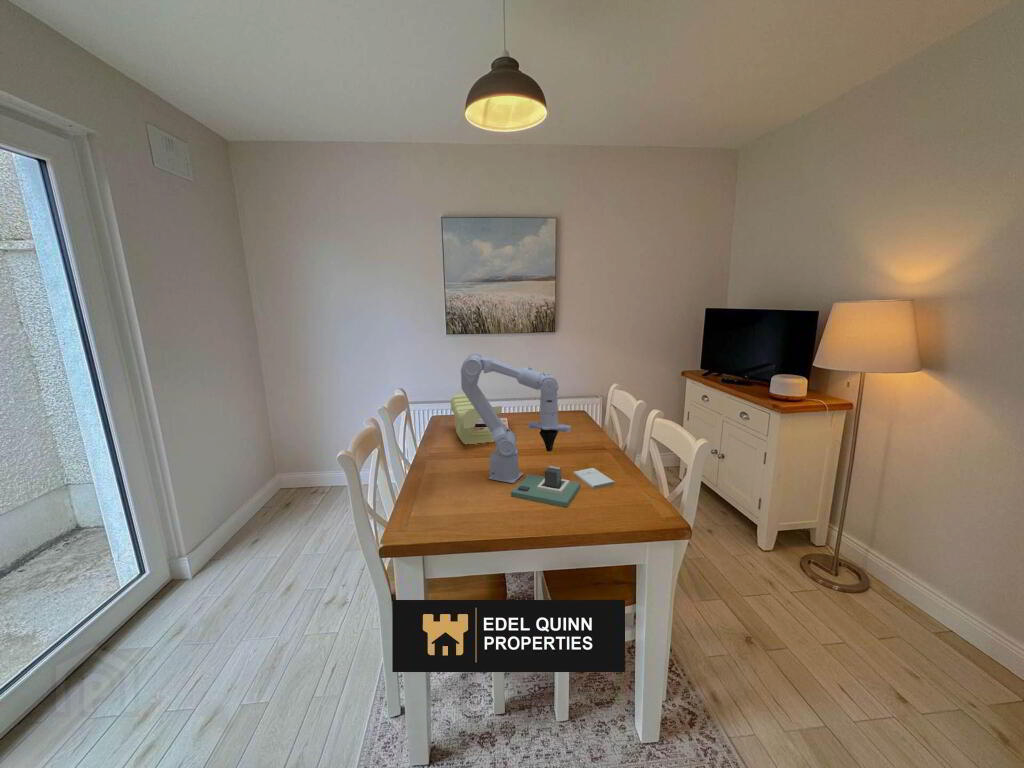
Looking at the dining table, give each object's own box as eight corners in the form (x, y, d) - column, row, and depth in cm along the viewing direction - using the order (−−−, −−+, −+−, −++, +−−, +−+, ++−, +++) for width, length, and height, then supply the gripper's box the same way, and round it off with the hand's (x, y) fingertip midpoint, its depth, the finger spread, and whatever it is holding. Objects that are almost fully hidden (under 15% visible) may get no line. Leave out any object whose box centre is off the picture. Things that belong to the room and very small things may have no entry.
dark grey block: (544, 488, 125) (544, 470, 124) (549, 483, 129) (549, 465, 127) (557, 491, 123) (556, 472, 122) (561, 485, 127) (561, 467, 126)
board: (511, 496, 124) (510, 488, 124) (529, 478, 137) (528, 470, 136) (566, 507, 117) (566, 498, 116) (580, 487, 129) (580, 479, 128)
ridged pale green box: (452, 431, 190) (450, 394, 186) (485, 427, 195) (483, 391, 191) (465, 453, 162) (462, 410, 158) (503, 447, 167) (501, 406, 163)
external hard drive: (592, 490, 128) (573, 475, 139) (614, 485, 130) (593, 471, 142) (593, 485, 127) (573, 471, 139) (614, 481, 130) (594, 467, 141)
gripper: (524, 412, 133) (525, 451, 135) (566, 416, 126) (566, 457, 129) (532, 407, 139) (533, 444, 142) (572, 411, 133) (572, 450, 135)
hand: (549, 450), depth 136 cm, fingers closed
